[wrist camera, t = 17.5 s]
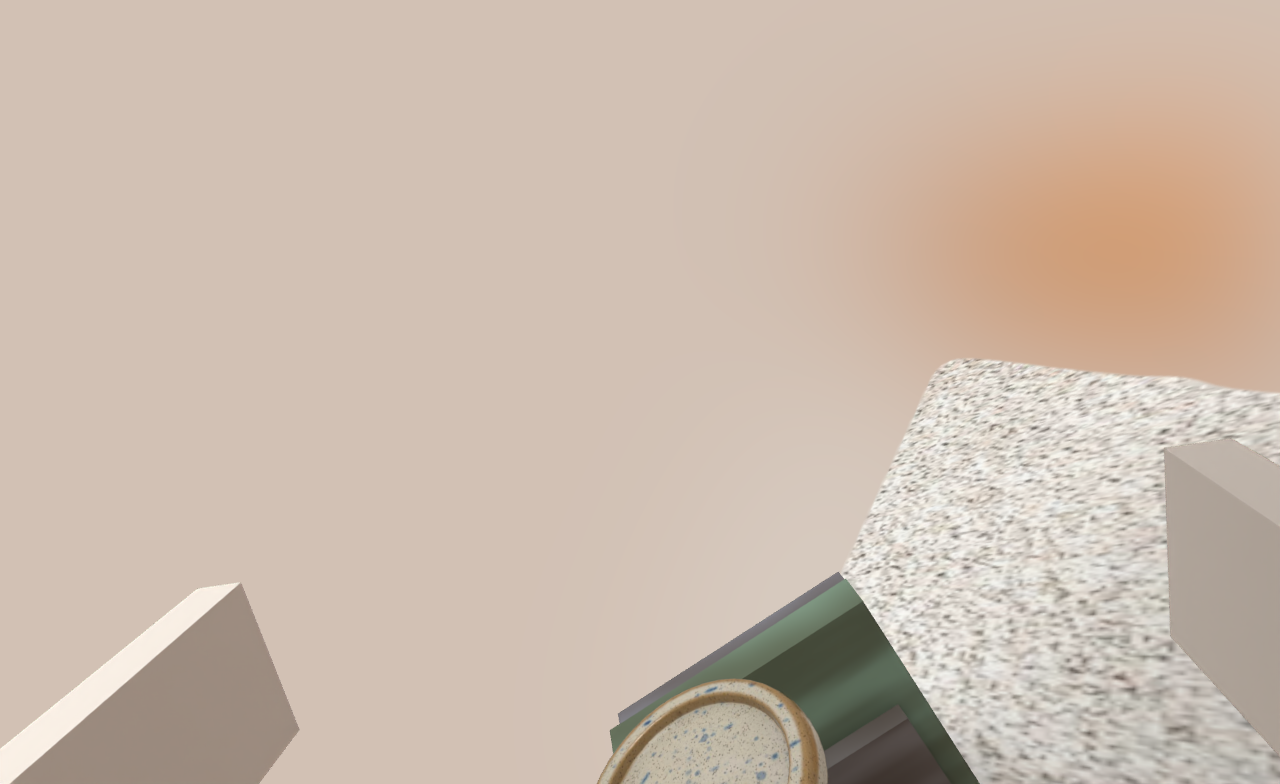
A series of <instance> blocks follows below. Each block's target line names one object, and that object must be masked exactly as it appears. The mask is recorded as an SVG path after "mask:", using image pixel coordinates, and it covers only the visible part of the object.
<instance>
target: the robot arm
mask: <svg viewBox="0 0 1280 784" xmlns="http://www.w3.org/2000/svg"><path fill="white" fill-rule="evenodd" d="M1164 461H1165V490H1166V520H1167V549H1168V578H1169V608H1170V636H1171V637H1172V638H1173V640H1174V641H1175V642H1176V643H1177V644H1178V645H1179V646H1180V647H1181V648H1182V649H1183V651H1184V652H1185V653H1186V654H1187V655H1188V656H1189V657H1190V658H1191V659H1192V660H1193V662H1194V663H1195V664H1196V665H1197V666H1198V667H1199V668H1200V669H1201V670H1202V671H1203V673H1204V674H1205V675H1206V676H1207V677H1208V678H1209V679H1210V680H1211V681H1212V682H1213V684H1214V685H1215V686H1216V687H1217V688H1218V689H1219V690H1220V691H1221V692H1222V693H1223V695H1224V696H1225V697H1226V698H1227V699H1228V700H1229V701H1230V702H1231V703H1232V704H1233V706H1234V707H1235V708H1236V709H1237V710H1238V711H1239V712H1240V713H1241V714H1242V715H1243V717H1244V718H1245V719H1246V720H1247V721H1248V722H1249V723H1250V724H1251V725H1252V726H1253V728H1254V729H1255V730H1256V731H1257V732H1258V733H1259V734H1260V735H1261V736H1262V738H1263V739H1264V740H1265V741H1266V742H1267V743H1268V744H1269V745H1270V746H1271V747H1272V749H1273V750H1274V751H1275V752H1276V753H1277V754H1278V755H1279V756H1280V466H1279V465H1277V464H1275V463H1274V462H1272V461H1270V460H1268V459H1267V458H1265V457H1263V456H1261V455H1260V454H1258V453H1256V452H1254V451H1253V450H1251V449H1249V448H1247V447H1246V446H1244V445H1242V444H1240V443H1239V442H1237V441H1235V440H1233V439H1232V438H1230V439H1223V440H1216V441H1209V442H1202V443H1195V444H1188V445H1181V446H1175V447H1168V448H1164ZM298 731H299V727H298V725H297V723H296V720H295V717H294V715H293V712H292V710H291V707H290V705H289V702H288V700H287V697H286V695H285V692H284V690H283V687H282V684H281V682H280V680H279V677H278V675H277V672H276V669H275V667H274V664H273V662H272V659H271V657H270V654H269V652H268V649H267V647H266V644H265V642H264V639H263V637H262V634H261V632H260V629H259V627H258V624H257V622H256V619H255V616H254V614H253V612H252V609H251V606H250V604H249V601H248V599H247V596H246V594H245V591H244V589H243V587H242V584H241V583H233V584H226V585H220V586H212V587H206V588H199V589H197V590H195V591H194V592H193V593H192V594H191V595H189V596H188V597H187V598H185V599H184V600H183V601H182V602H181V603H179V604H178V605H177V606H176V607H174V608H173V609H172V610H171V611H170V612H168V613H167V614H166V615H165V616H163V617H162V618H161V619H160V620H158V621H157V622H156V623H155V624H153V625H152V626H151V627H150V628H148V629H147V630H146V631H145V632H144V633H142V634H141V635H140V636H139V637H137V638H136V639H135V640H134V641H133V642H131V643H130V644H129V645H128V646H126V647H125V648H124V649H123V650H121V651H120V652H119V653H118V654H117V655H115V656H114V657H113V658H112V659H110V660H109V661H108V662H107V663H105V664H104V665H103V666H102V667H100V668H99V669H98V670H97V671H96V672H94V673H93V674H92V675H91V676H89V677H88V678H87V679H86V680H85V681H83V682H82V683H81V684H80V685H78V686H77V687H76V688H75V689H73V690H72V691H71V692H70V693H68V694H67V695H66V696H65V697H63V698H62V699H61V700H60V701H59V702H57V703H56V704H55V705H54V706H52V707H51V708H50V709H49V710H47V711H46V712H45V713H44V714H43V715H41V716H40V717H39V718H38V719H36V720H35V721H34V722H33V723H31V724H30V725H29V726H28V727H27V728H25V729H24V730H23V731H22V732H20V733H19V734H18V735H17V736H15V737H14V738H13V739H12V740H11V741H9V742H8V743H7V744H6V745H4V746H3V747H2V748H1V749H0V784H259V783H260V781H261V780H262V779H263V778H264V776H265V775H266V774H267V772H268V771H269V770H270V768H271V767H272V766H273V764H274V763H275V761H276V760H277V759H278V758H279V756H280V755H281V754H282V752H283V751H284V750H285V748H286V747H287V746H288V744H289V743H290V742H291V740H292V739H293V738H294V736H295V735H296V734H297V732H298Z"/></svg>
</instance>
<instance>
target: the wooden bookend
mask: <svg viewBox="0 0 1280 784" xmlns="http://www.w3.org/2000/svg"><path fill="white" fill-rule="evenodd" d="M722 679H745V680H753V681H756V682H760V683H764V684H767V685H769V686H771V687H773V688H775V689H777V690H779V691H781V692H783V693H784V694H785V695H786V696H788V697H789V698H790V699H792V700H793V701H794V702H795V703H796V704H798V705H799V707H800V708H801V709H802V710H803V711H804V713H805V714H806V715H807V716H808V718H809V719H810V720H811V722H812V723H813V725H814V727H815V729H816V731H817V733H818V735H819V737H820V740H821V743H822V746H823V750H824V753H825V757H826V762H827V771H828V784H979V782H978V780H977V779H976V777H975V776H974V774H973V773H972V771H971V770H970V768H969V766H968V765H967V763H966V762H965V760H964V759H963V757H962V755H961V754H960V752H959V751H958V749H957V748H956V746H955V744H954V743H953V741H952V740H951V738H950V737H949V735H948V734H947V732H946V730H945V729H944V727H943V726H942V724H941V723H940V721H939V719H938V718H937V716H936V715H935V713H934V712H933V710H932V708H931V707H930V705H929V704H928V702H927V701H926V699H925V698H924V696H923V694H922V693H921V691H920V690H919V688H918V687H917V685H916V683H915V682H914V680H913V679H912V677H911V676H910V674H909V673H908V671H907V669H906V668H905V666H904V665H903V663H902V662H901V660H900V658H899V657H898V655H897V654H896V652H895V651H894V649H893V647H892V646H891V644H890V643H889V641H888V640H887V638H886V637H885V635H884V633H883V632H882V630H881V629H880V627H879V626H878V624H877V622H876V621H875V619H874V618H873V616H872V615H871V613H870V611H869V610H868V608H867V607H866V605H865V604H864V602H863V601H862V599H861V598H860V597H859V595H858V594H857V593H856V591H855V590H854V589H853V588H852V586H851V585H850V584H849V582H848V581H847V580H846V579H844V578H843V577H842V576H841V575H840V573H839V572H837V573H835V574H834V575H832V576H831V577H830V578H828V579H826V580H825V581H823V582H821V583H820V584H819V585H817V586H815V587H814V588H812V589H811V590H809V591H807V592H806V593H804V594H803V595H801V596H800V597H798V598H797V599H795V600H794V601H792V602H790V603H789V604H787V605H786V606H784V607H783V608H781V609H780V610H778V611H776V612H775V613H773V614H772V615H771V616H769V617H767V618H766V619H764V620H763V621H761V622H759V623H758V624H756V625H755V626H753V627H752V628H750V629H749V630H747V631H745V632H744V633H742V634H741V635H739V636H738V637H736V638H735V639H733V640H731V641H730V642H728V643H727V644H725V645H724V646H723V647H721V648H719V649H718V650H716V651H714V652H713V653H711V654H710V655H708V656H707V657H705V658H704V659H702V660H700V661H699V662H697V663H696V664H694V665H693V666H691V667H690V668H688V669H686V670H685V671H683V672H682V673H680V674H679V675H677V676H676V677H674V678H673V679H671V680H669V681H668V682H666V683H665V684H664V685H662V686H660V687H659V688H657V689H656V690H654V691H652V692H651V693H649V694H648V695H646V696H645V697H643V698H641V699H640V700H638V701H637V702H636V703H634V704H632V705H631V706H629V707H628V708H626V709H624V710H623V711H621V712H620V713H618V717H619V722H620V724H619V725H617V726H616V727H614V728H613V729H611V730H610V735H611V741H612V748H613V754H614V752H615V751H616V749H617V748H618V747H619V745H620V744H621V743H622V741H623V740H624V739H625V738H626V737H627V736H628V734H629V733H630V732H631V731H632V730H633V729H634V728H635V727H636V726H637V725H638V724H639V723H640V722H641V721H642V720H643V719H644V718H645V717H646V716H647V715H649V714H650V713H651V712H652V711H654V710H655V709H656V708H657V707H658V706H660V705H661V704H663V703H664V702H666V701H668V700H669V699H671V698H672V697H674V696H676V695H678V694H680V693H681V692H683V691H685V690H687V689H690V688H692V687H695V686H698V685H700V684H703V683H707V682H711V681H716V680H722Z"/></svg>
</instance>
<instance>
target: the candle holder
mask: <svg viewBox="0 0 1280 784" xmlns="http://www.w3.org/2000/svg"><path fill="white" fill-rule="evenodd" d="M597 784H828V771H827V762H826V757H825V753H824V750H823V746H822V743H821V740H820V737H819V735H818V733H817V731H816V729H815V727H814V725H813V723H812V722H811V720H810V719H809V718H808V716H807V715H806V714H805V713H804V711H803V710H802V709H801V708H800V707H799V705H798V704H796V703H795V702H794V701H793V700H792V699H790V698H789V697H788V696H786V695H785V694H784V693H783V692H781V691H779V690H777V689H775V688H773V687H771V686H769V685H767V684H764V683H760V682H756V681H753V680H745V679H722V680H716V681H711V682H707V683H703V684H700V685H698V686H695V687H692V688H690V689H687V690H685V691H683V692H681V693H680V694H678V695H676V696H674V697H672V698H671V699H669V700H668V701H666V702H664V703H663V704H661V705H660V706H658V707H657V708H656V709H655V710H654V711H652V712H651V713H650V714H649V715H647V716H646V717H645V718H644V719H643V720H642V721H641V722H640V723H639V724H638V725H637V726H636V727H635V728H634V729H633V730H632V731H631V732H630V733H629V734H628V736H627V737H626V738H625V739H624V740H623V741H622V743H621V744H620V745H619V747H618V748H617V749H616V751H615V752H614V754H613V755H612V757H611V758H610V760H609V761H608V763H607V765H606V767H605V769H604V770H603V772H602V774H601V776H600V778H599V780H598V783H597Z"/></svg>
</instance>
